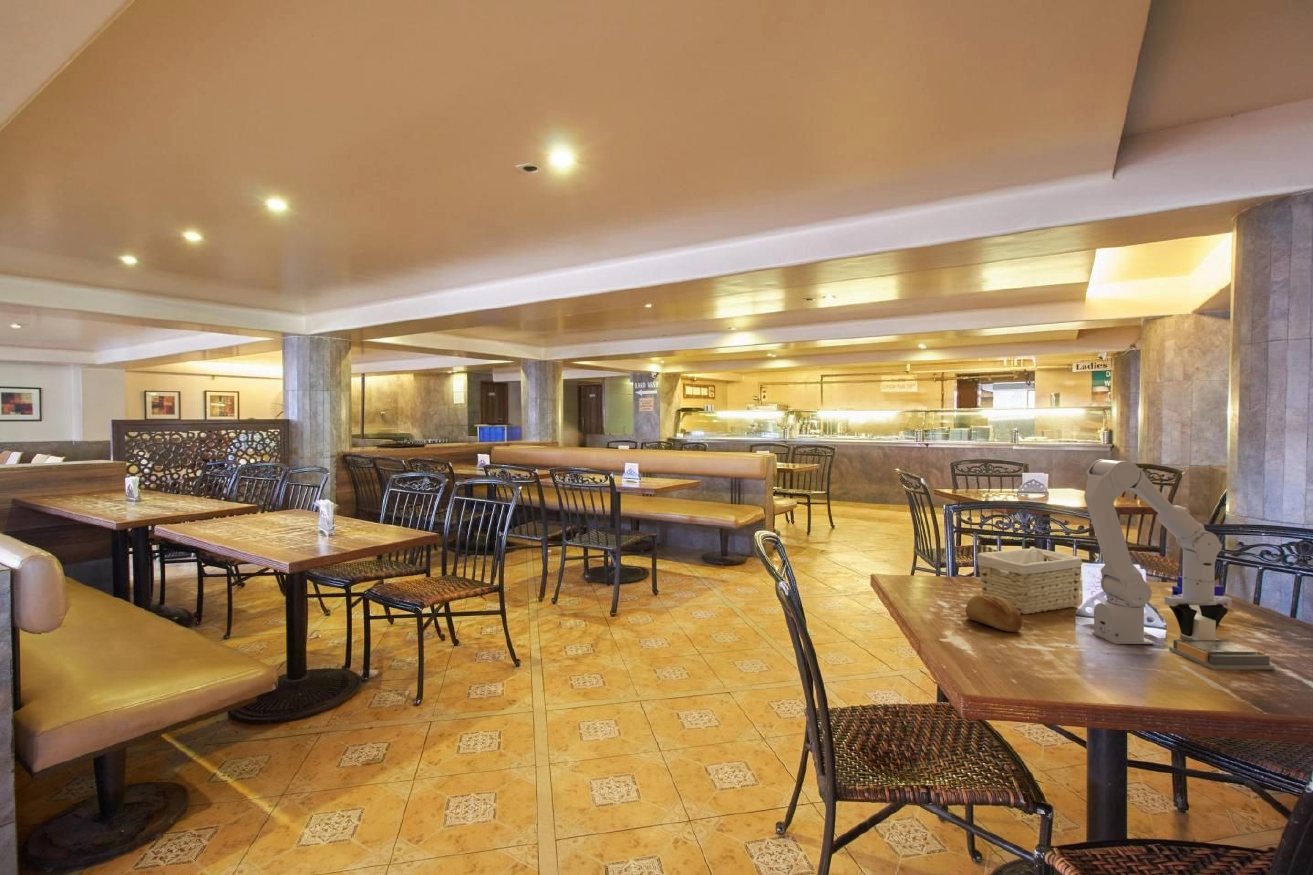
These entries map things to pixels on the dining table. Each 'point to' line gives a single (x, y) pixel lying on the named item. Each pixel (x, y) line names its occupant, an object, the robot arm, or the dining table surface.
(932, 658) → the dining table surface
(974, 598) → the bread roll
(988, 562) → the storage basket
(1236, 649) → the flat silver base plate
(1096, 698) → the dining table surface
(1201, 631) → the block
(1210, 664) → the rail panel
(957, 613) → the dining table surface
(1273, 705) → the dining table surface
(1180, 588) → the cable clip
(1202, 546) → the robot arm
